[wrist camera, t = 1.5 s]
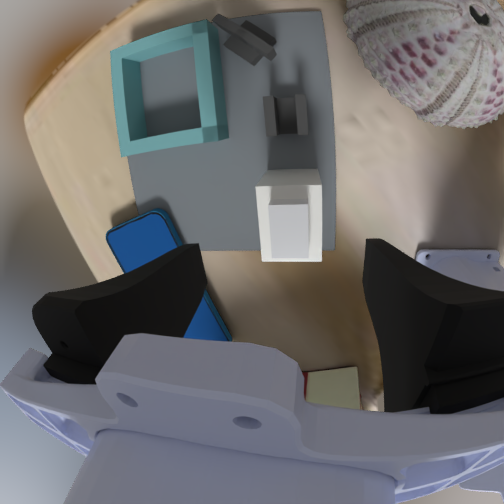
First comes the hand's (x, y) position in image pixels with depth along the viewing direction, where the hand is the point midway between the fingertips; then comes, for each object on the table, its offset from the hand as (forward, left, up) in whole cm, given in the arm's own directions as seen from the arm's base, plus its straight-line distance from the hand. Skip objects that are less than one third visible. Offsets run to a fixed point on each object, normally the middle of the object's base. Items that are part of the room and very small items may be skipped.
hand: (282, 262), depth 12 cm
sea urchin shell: (-11, -13, -10) cm, 19 cm away
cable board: (+5, -5, -10) cm, 12 cm away
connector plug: (0, 0, -9) cm, 9 cm away
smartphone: (+11, +8, -9) cm, 17 cm away
